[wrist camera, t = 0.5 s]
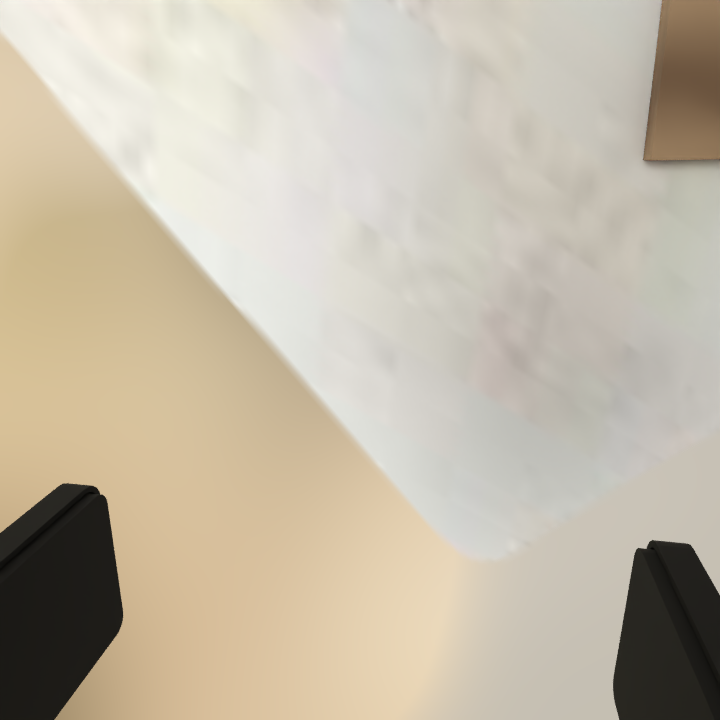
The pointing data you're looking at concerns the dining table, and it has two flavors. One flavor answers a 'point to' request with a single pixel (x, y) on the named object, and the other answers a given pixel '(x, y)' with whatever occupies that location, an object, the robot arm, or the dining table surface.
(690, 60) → the board
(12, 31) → the dining table surface
